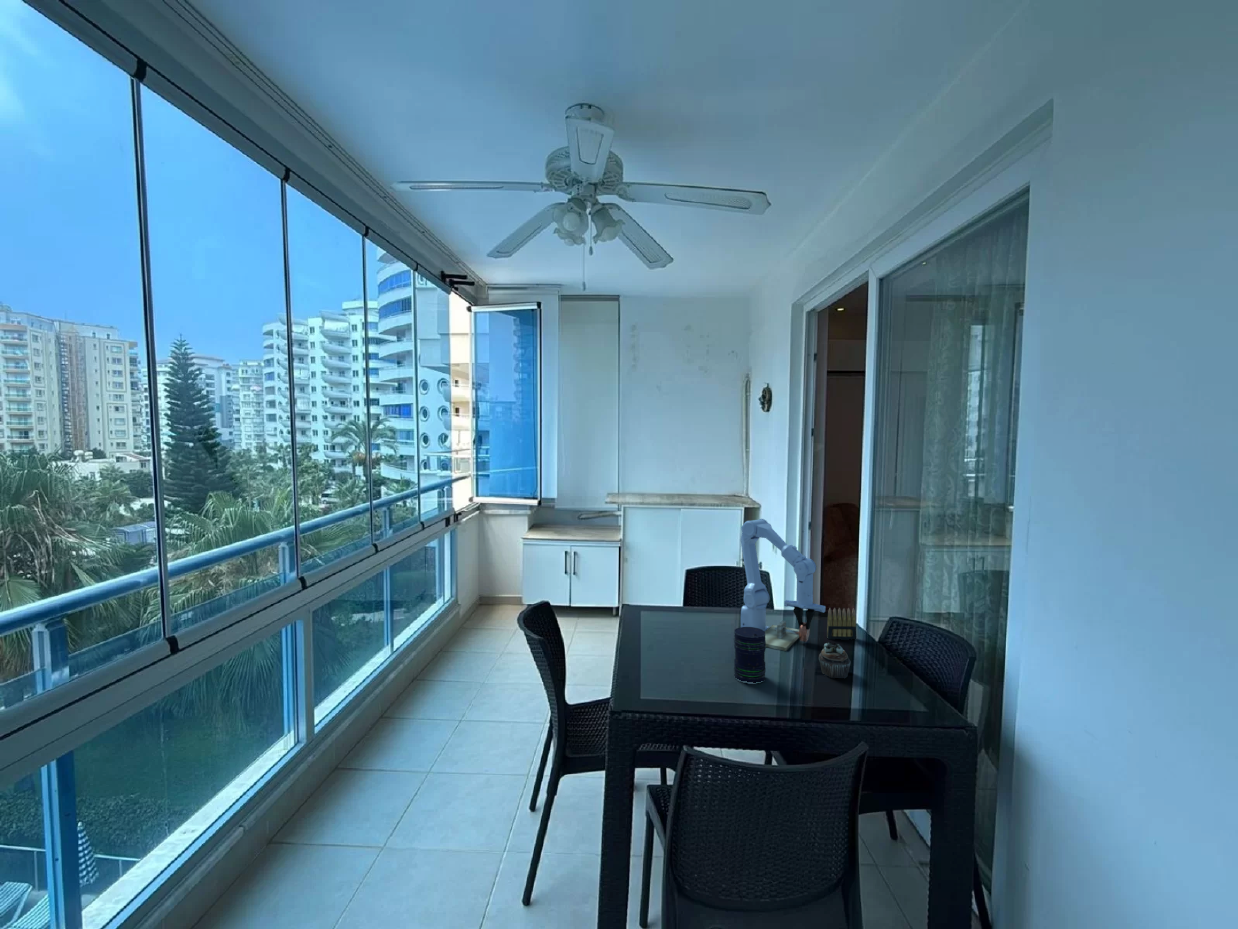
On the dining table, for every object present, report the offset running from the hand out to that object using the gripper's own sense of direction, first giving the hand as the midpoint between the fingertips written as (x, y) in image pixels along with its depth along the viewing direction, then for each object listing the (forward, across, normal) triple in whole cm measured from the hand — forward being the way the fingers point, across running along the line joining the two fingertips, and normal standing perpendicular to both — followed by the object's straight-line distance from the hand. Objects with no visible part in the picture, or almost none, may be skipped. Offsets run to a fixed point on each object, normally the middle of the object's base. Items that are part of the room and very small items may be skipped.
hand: (804, 628), depth 207 cm
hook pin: (+5, -5, 0) cm, 7 cm away
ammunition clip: (+6, +10, +13) cm, 18 cm away
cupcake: (+6, +16, -22) cm, 28 cm away
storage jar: (+6, -6, -40) cm, 41 cm away
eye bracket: (+6, -8, 0) cm, 10 cm away
